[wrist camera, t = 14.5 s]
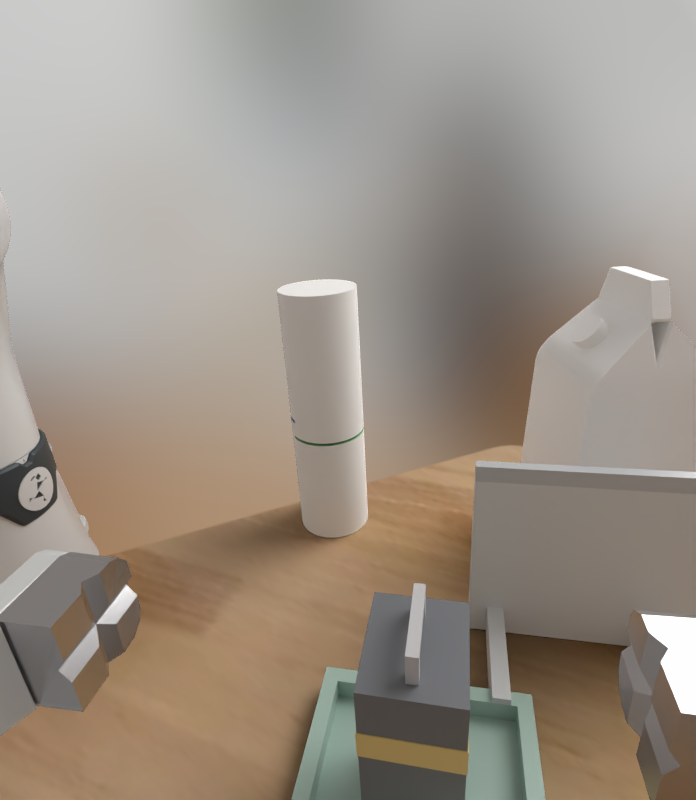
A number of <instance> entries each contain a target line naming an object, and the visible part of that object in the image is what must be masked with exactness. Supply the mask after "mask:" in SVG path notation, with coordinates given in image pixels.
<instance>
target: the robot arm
mask: <svg viewBox="0 0 696 800" xmlns="http://www.w3.org/2000/svg"><path fill="white" fill-rule="evenodd" d="M10 236H11V224H10V216H9V211H8V207H7V205H6V201H5V199H4V197H3V194H2V192H1V190H0V736H1V735H2V734H3V733H5V732H6V731H7V730H9V729H10V728H11V727H13V726H14V725H15V724H17V723H18V722H19V721H21V720H22V719H23V718H25V717H26V716H27V715H29V714H30V713H31V712H33V711H34V710H35V709H36V706H44V707H51V708H59V709H66V710H74V711H81V712H83V711H84V710H85V709H86V707H87V706H88V704H89V703H90V701H91V700H92V698H93V697H94V696H95V694H96V693H97V691H98V690H99V688H100V687H101V686H102V684H103V683H104V681H105V680H106V678H107V677H108V675H109V662H110V661H111V660H113V659H115V658H116V657H118V656H119V655H121V654H122V653H124V652H125V651H126V649H127V648H128V646H129V645H130V643H131V642H132V640H133V639H134V637H135V634H136V631H137V628H138V625H139V622H140V604H139V600H138V596H137V595H136V594H135V593H134V592H133V591H132V590H131V589H130V588H129V587H128V586H127V583H128V582H129V580H130V578H131V576H132V575H131V573H130V570H129V567H128V564H127V561H125V560H122V559H120V558H114V557H107V556H99V552H98V549H97V547H96V545H95V544H94V542H93V541H92V539H91V538H90V536H89V535H88V530H89V525H88V523H87V521H86V518H85V517H84V516H83V515H78V513H77V510H76V508H75V506H74V504H73V502H72V500H71V498H70V495H69V494H68V491H67V489H66V487H65V485H64V483H63V481H62V479H61V477H60V475H59V473H58V471H57V470H56V463H55V460H54V457H53V454H52V448H51V445H50V444H49V442H48V441H47V438H46V436H45V434H44V432H43V431H41V430H40V429H38V428H37V425H36V422H35V419H34V416H33V413H32V410H31V406H30V403H29V400H28V397H27V394H26V391H25V388H24V385H23V382H22V379H21V376H20V373H19V370H18V367H17V363H16V360H15V356H14V351H13V346H12V340H11V333H10V324H9V314H8V303H7V293H6V283H5V275H4V266H3V264H4V263H3V261H4V257H5V255H6V252H7V250H8V246H9V242H10ZM626 630H627V633H628V636H629V638H630V641H631V644H632V645H630V646H629V647H627V648H626V649H625V650H623V651H622V652H621V657H620V663H619V692H620V697H621V703H622V707H623V711H624V714H625V718H626V721H627V723H628V724H629V725H630V726H631V727H632V729H633V730H634V731H635V732H636V733H637V734H638V735H639V736H640V737H641V738H640V743H639V747H638V751H637V759H638V762H639V765H640V769H641V772H642V775H643V778H644V782H645V785H646V788H647V792H648V795H649V798H650V800H696V615H690V614H679V613H668V612H657V611H646V610H635V609H634V610H633V611H632V613H631V614H630V616H629V620H628V624H627V628H626Z"/></svg>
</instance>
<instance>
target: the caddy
mask: <svg viewBox="0 0 696 800" xmlns="http://www.w3.org/2000/svg"><path fill="white" fill-rule="evenodd" d="M353 695H354V708H355V721H356V732H355V739H356V752H357V756H358V761H359V774H360V788H361V800H465V790H466V775H467V776H468V760H469V721H470V625H469V603H468V602H459V601H450V600H441V599H431V598H426V584H419V583H414V587H413V595H412V596H404V595H395V594H386V593H377V592H375V593H374V598H373V603H372V607H371V612H370V617H369V621H368V626H367V631H366V636H365V640H364V645H363V650H362V654H361V659H360V664H359V668H358V673H357V678H356V683H355V687H354V692H353Z"/></svg>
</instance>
